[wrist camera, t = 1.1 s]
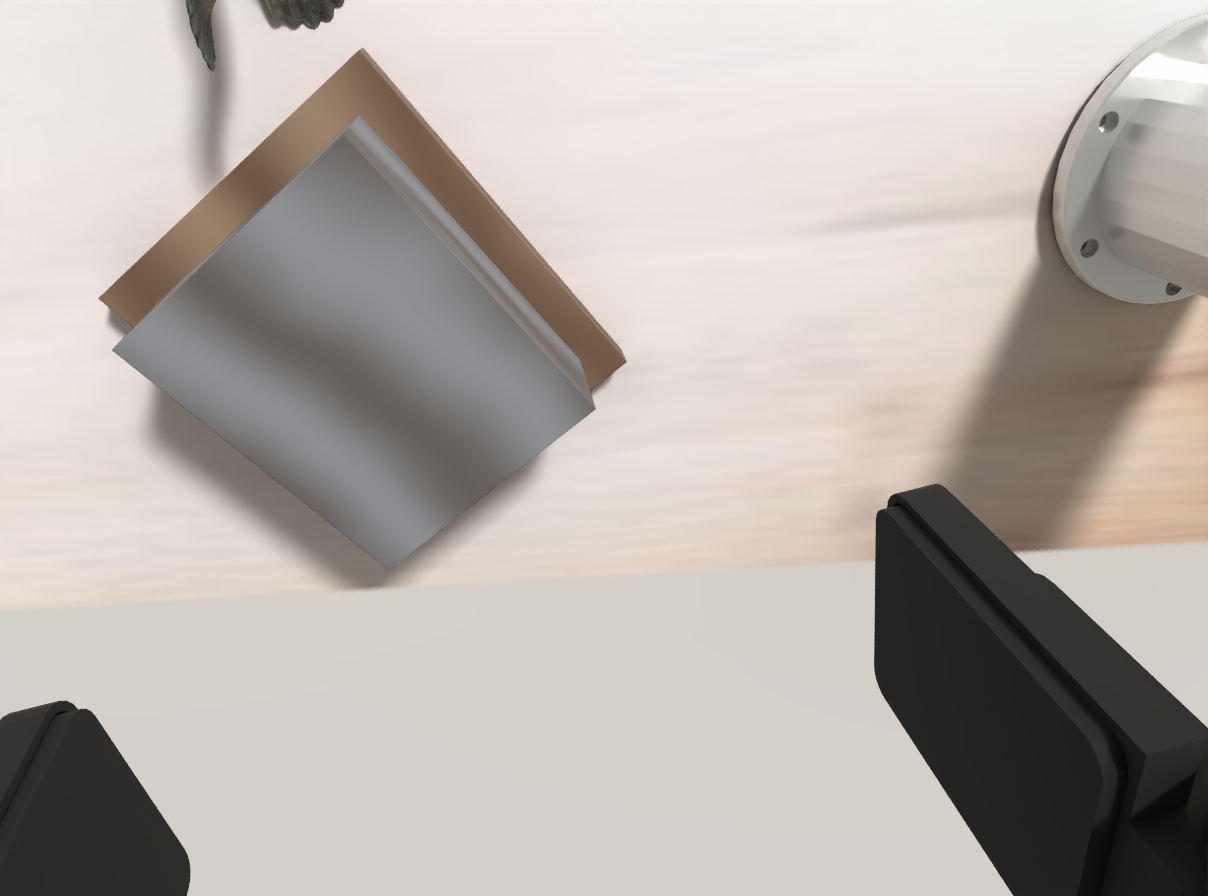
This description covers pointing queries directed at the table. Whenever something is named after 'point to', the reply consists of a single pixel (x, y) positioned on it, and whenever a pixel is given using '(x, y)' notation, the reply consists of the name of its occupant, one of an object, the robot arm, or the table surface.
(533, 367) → the pedestal
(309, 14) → the eagle figurine
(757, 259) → the table surface
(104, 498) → the table surface
